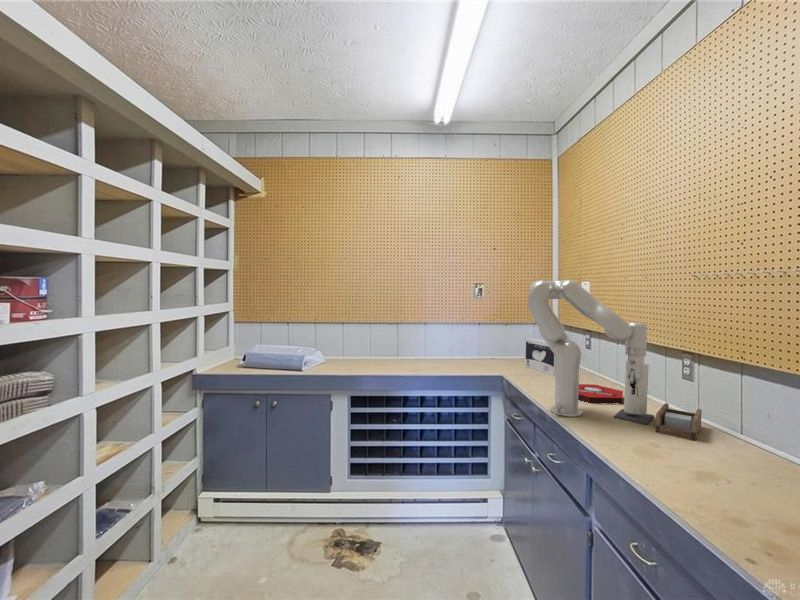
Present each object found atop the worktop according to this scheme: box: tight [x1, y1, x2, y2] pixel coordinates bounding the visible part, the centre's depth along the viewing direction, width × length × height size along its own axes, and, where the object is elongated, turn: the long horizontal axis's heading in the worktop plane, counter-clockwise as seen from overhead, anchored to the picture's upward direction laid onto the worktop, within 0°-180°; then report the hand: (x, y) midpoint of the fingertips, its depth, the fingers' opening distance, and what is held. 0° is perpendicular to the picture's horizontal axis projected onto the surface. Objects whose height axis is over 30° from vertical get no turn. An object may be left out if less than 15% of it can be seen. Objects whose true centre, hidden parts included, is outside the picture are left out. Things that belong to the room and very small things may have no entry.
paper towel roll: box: [623, 361, 650, 415], centre depth 163 cm, size 7×6×21 cm
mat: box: [613, 408, 655, 426], centre depth 163 cm, size 14×12×1 cm
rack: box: [655, 402, 702, 442], centre depth 149 cm, size 20×12×7 cm, turn 137°
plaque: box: [578, 383, 624, 405], centre depth 195 cm, size 27×4×30 cm
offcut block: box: [665, 412, 692, 431], centre depth 147 cm, size 6×8×6 cm
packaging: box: [524, 337, 557, 377], centre depth 258 cm, size 30×6×20 cm, turn 18°
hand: (634, 394), depth 163 cm, fingers closed on paper towel roll, 3 cm apart
